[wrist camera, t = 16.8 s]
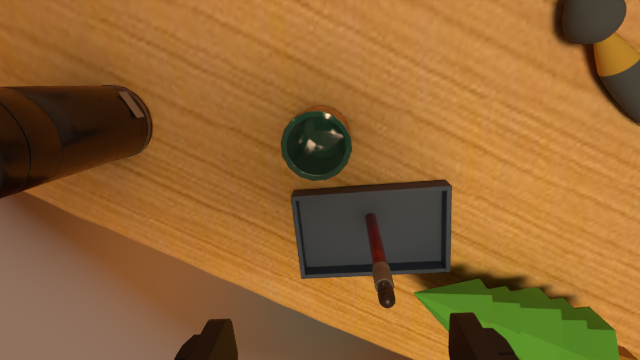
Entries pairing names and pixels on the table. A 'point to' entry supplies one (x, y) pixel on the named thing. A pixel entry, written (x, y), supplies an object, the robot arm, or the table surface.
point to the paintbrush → (607, 48)
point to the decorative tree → (529, 321)
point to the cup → (317, 143)
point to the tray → (393, 221)
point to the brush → (379, 264)
